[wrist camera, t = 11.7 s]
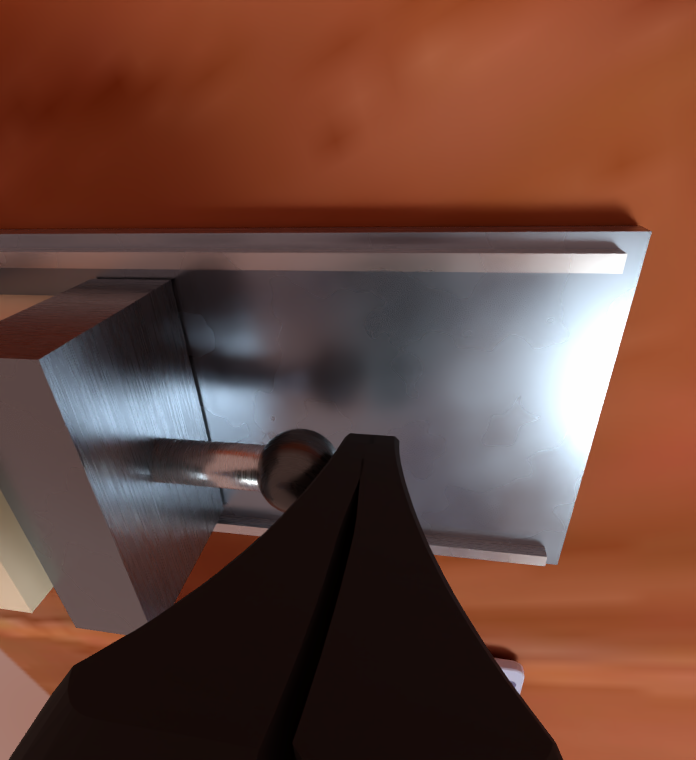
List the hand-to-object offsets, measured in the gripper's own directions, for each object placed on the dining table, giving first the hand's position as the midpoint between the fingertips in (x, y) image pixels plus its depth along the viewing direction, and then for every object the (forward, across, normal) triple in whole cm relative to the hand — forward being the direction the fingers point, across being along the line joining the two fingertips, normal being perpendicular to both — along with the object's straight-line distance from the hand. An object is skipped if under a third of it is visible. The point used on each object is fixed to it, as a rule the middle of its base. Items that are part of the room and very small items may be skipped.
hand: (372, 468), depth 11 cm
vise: (+3, +4, 0) cm, 5 cm away
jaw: (+2, +4, 0) cm, 5 cm away
